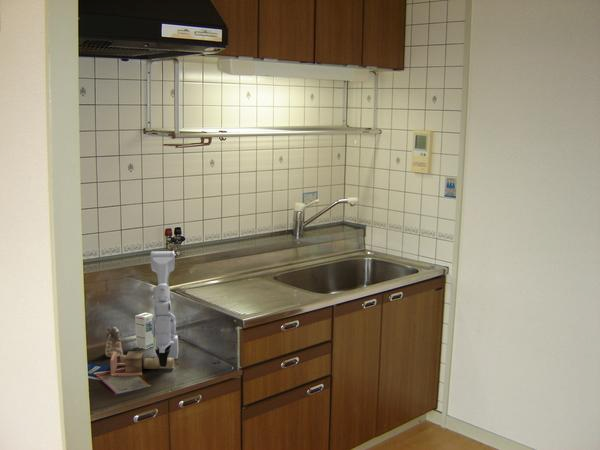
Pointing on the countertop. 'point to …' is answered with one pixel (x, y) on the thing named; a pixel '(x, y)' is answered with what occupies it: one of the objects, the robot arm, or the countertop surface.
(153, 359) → the dowel
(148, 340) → the syrup box
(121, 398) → the countertop surface
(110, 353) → the figurine
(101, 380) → the countertop surface
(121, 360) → the short dowel
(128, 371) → the block
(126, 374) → the end wall and guide rails
